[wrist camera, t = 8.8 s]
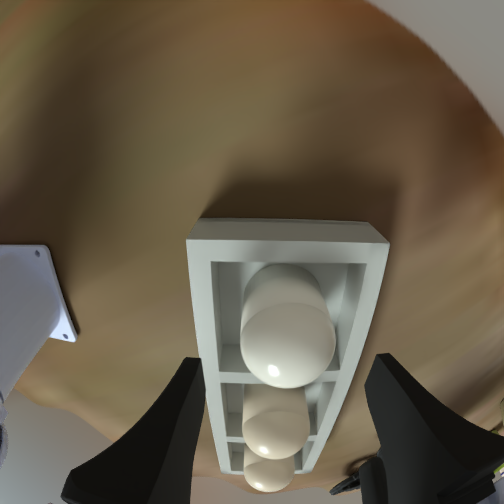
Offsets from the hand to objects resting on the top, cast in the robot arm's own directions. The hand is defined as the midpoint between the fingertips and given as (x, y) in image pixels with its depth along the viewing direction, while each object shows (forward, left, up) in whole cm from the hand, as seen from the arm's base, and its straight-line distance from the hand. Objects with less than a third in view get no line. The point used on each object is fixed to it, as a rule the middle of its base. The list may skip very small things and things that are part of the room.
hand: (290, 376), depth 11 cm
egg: (0, 0, -6) cm, 6 cm away
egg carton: (0, -8, -6) cm, 10 cm away
